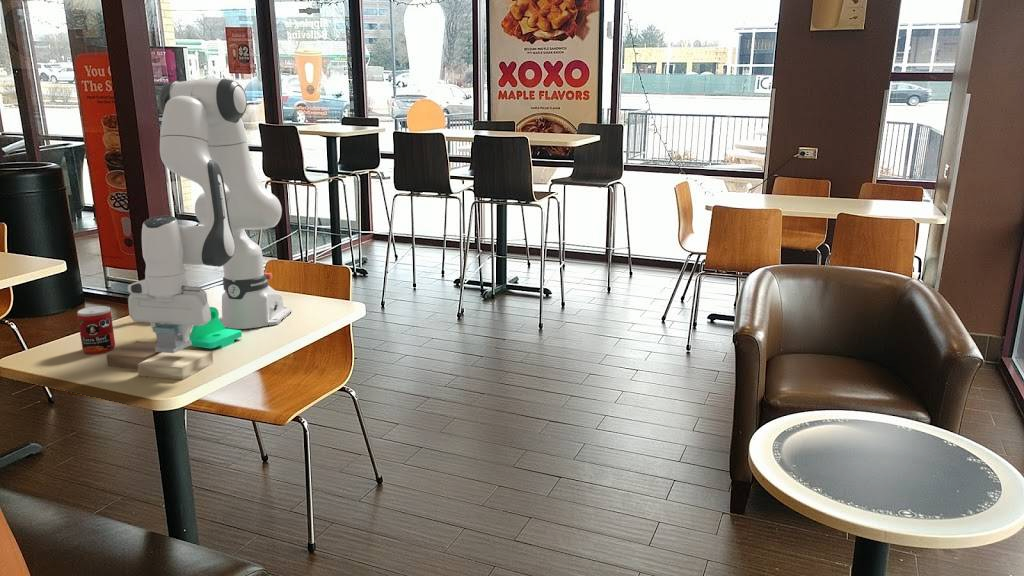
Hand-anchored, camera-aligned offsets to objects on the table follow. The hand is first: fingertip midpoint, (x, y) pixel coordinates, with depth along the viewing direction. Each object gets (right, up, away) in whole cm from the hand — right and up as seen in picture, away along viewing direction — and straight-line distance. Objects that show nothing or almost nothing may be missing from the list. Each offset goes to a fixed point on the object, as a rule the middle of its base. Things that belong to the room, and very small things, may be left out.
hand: (173, 340), depth 187 cm
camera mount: (+2, -3, +22) cm, 22 cm away
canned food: (-27, -4, +17) cm, 32 cm away
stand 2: (0, -7, +2) cm, 8 cm away
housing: (0, -2, 0) cm, 2 cm away
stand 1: (-12, -6, +9) cm, 16 cm away
